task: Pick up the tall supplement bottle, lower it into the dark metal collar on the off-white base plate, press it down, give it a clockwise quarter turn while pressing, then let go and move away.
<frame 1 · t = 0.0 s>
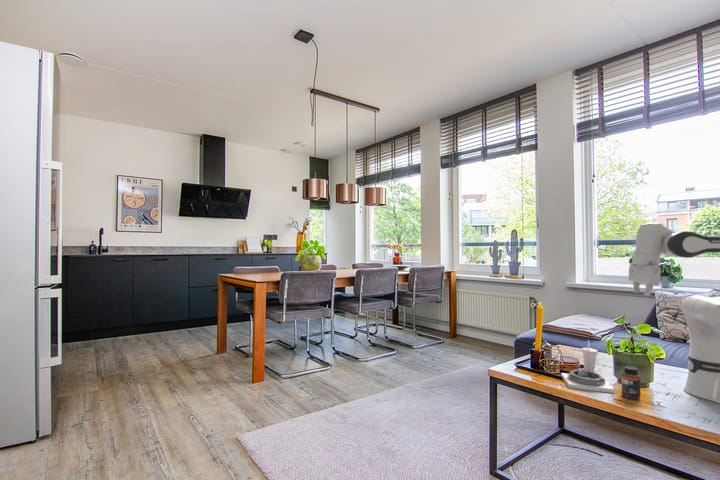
hand: (641, 294, 155), 39 cm above the table, tool pointing down, fingers open, 8 cm apart
socket plate: (586, 384, 157), on the table
supplement bottle: (630, 397, 145), on the table
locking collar: (586, 377, 157), on the socket plate, point 3 cm above the table
smoothie: (589, 370, 175), on the table
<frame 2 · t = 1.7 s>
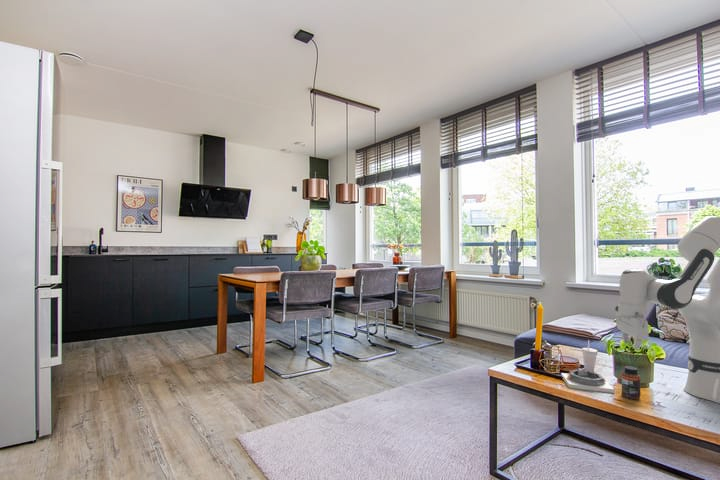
hand: (631, 346, 145), 20 cm above the table, tool pointing down, fingers open, 8 cm apart
nothing on the table moved.
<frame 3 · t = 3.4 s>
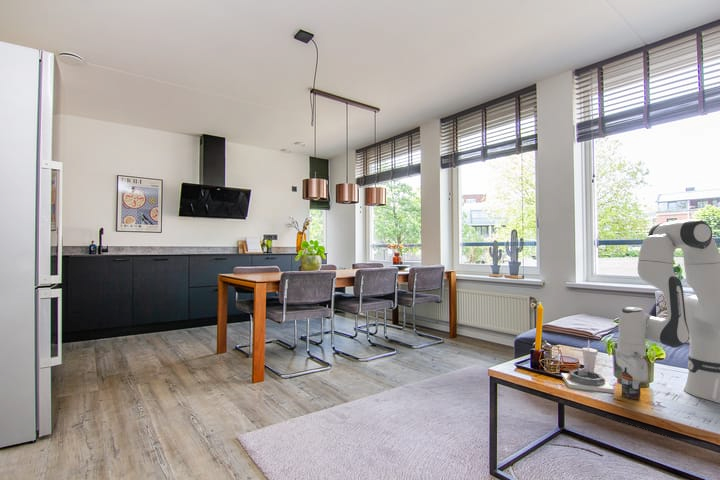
hand: (630, 384, 145), 5 cm above the table, tool pointing down, fingers closed on supplement bottle, 6 cm apart
supplement bottle: (630, 397, 145), on the table, touching gripper
everything else where it was.
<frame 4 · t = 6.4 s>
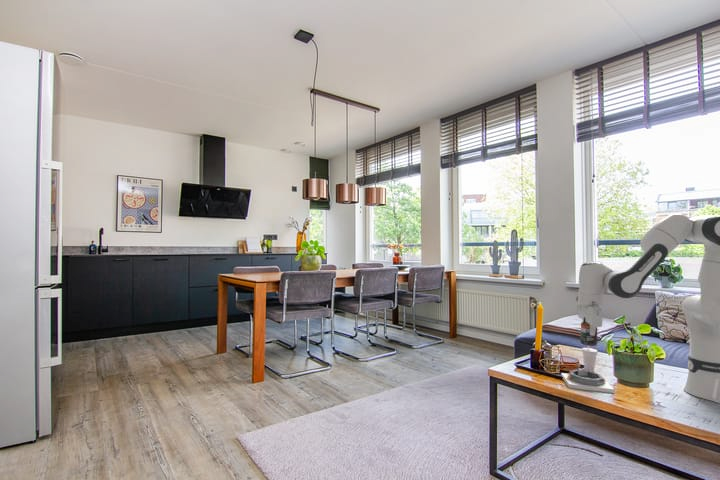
hand: (589, 333, 156), 22 cm above the table, tool pointing down, fingers closed on supplement bottle, 6 cm apart
supplement bottle: (588, 345, 156), point 17 cm above the table, touching gripper
everything else where it was.
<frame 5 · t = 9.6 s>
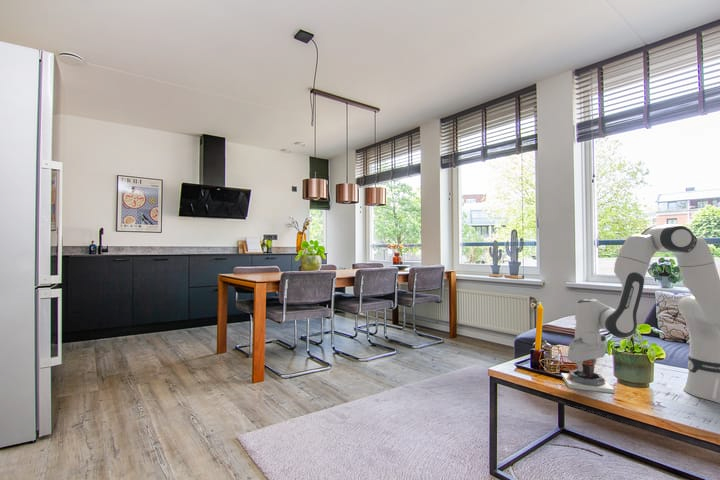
hand: (586, 369, 157), 6 cm above the table, tool pointing down, fingers closed on supplement bottle, 6 cm apart
supplement bottle: (585, 380, 158), point 1 cm above the table, touching gripper
everything else where it was.
when the fingers open (6 cm above the table, at t = 10.4 s): supplement bottle stays where it is, resting on socket plate.
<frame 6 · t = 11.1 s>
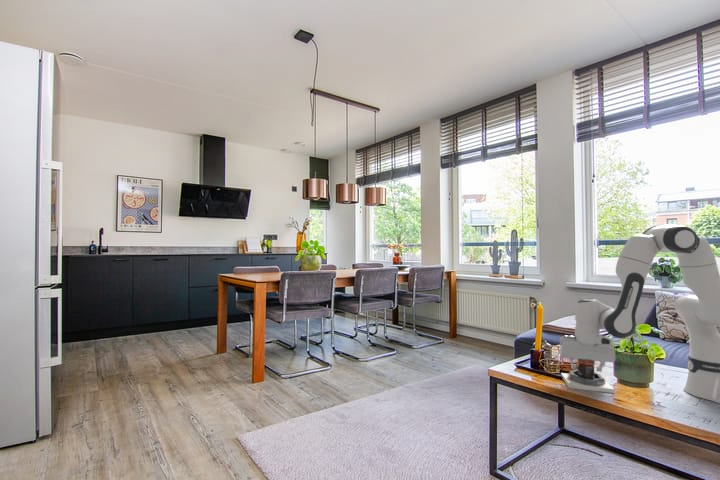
hand: (586, 369, 157), 6 cm above the table, tool pointing down, fingers open, 8 cm apart
supplement bottle: (585, 380, 157), point 1 cm above the table, touching socket plate
everything else where it was.
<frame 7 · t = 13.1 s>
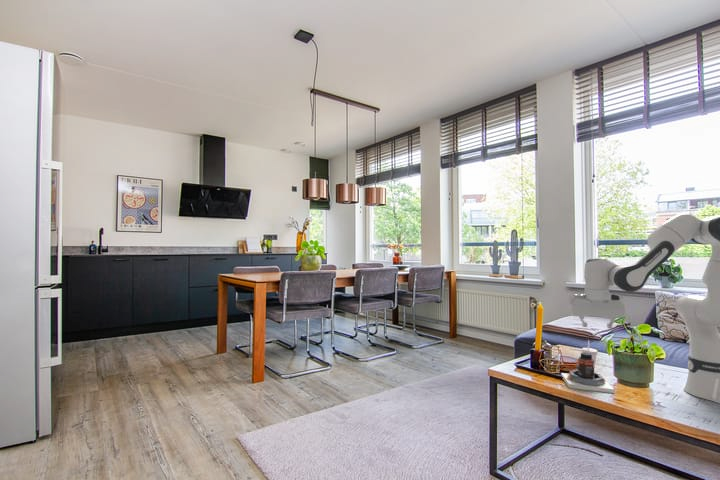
hand: (597, 327, 160), 23 cm above the table, tool pointing down, fingers open, 8 cm apart
nothing on the table moved.
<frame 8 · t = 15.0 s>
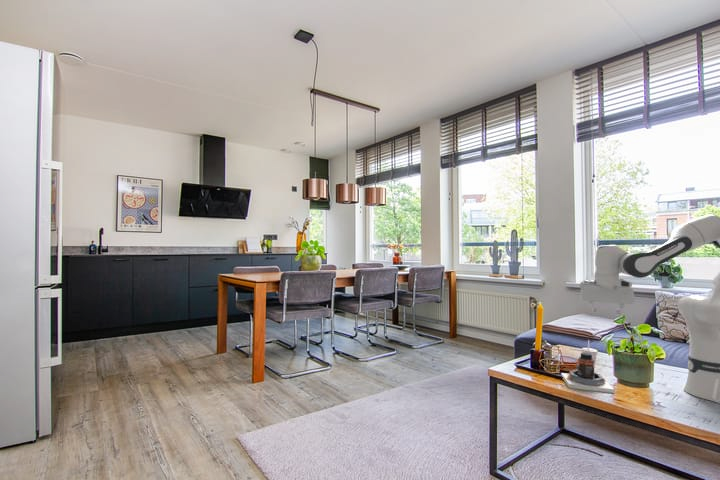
hand: (606, 312, 164), 29 cm above the table, tool pointing down, fingers open, 8 cm apart
nothing on the table moved.
at the end: supplement bottle 0.4 cm off-centre on the socket plate, point 1.3 cm above the socket plate's base; supplement bottle tilted 0°; the gripper is holding nothing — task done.
